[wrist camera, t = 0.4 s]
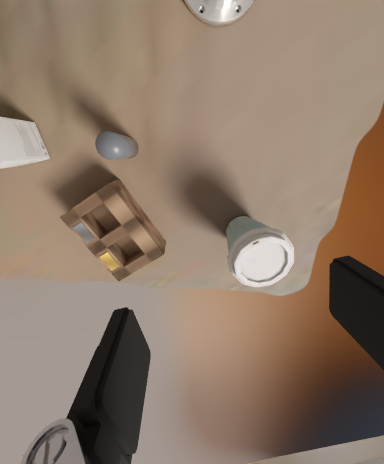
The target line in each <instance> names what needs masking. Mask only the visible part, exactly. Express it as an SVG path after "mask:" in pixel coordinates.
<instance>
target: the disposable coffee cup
mask: <svg viewBox="0 0 384 464" xmlns="http://www.w3.org/2000/svg"><path fill="white" fill-rule="evenodd" d="M226 234H227V242H228V250H229V254H228V256H227V258H228V264H229V270H230V272H231V273H232V274H233V275H234V276H235V277H236V278H237V280H238V281H239V282H240V283H241V284H245V285H249V286H252V287H256V288H257V287H262V286H267V285H272V284H274V283H275V282H277V281H278V280H280V279H281V278H283V277H284V276H286V274H287V273H288V271H289V269H290V268H291V266H292V264H293V262H294V246H293V245H292V243H291V242H290V240H289V239H288V238H287V237H286V235H285V234H284V233H283V232H282V231H279V230H276V229H273V228H270V227H268V226H266V225H264V224H262V223H260V222H258V221H256V220H254V219H252V218H249V217H246V216H241V217H236V218H234V219H233V220H232V221H231V222H230V223H229V224H228V227H227V229H226Z"/></svg>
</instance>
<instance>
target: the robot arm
mask: <svg viewBox="0 0 384 464" xmlns="http://www.w3.org/2000/svg"><path fill="white" fill-rule="evenodd" d="M253 1H254V0H184V2H185V4H186V5H187V7H188V8H189V10H190V11H191V12H192V13H193V14H194V15H195V16H196V17H197V18H198V19H200V20H201V21H203V22H205V23H207V24H210V25H215V26H222V25H227V24H230V23H233V22H235V21H236V20H238V19H239V18H241V17H242V16H243V15H244V14H245V13H246V12H247V10H248V9H249V7H250V6H251V5H252V3H253ZM200 11H202V12H203V13H200ZM236 11H238V13H237V12H236ZM329 309H330V312H331V314H332V316H333V317H334V318H335V319H336V320H337V321H338V322H339V323H340V324H341V325H342V327H343V328H344V329H345V330H346V331H347V332H348V333H349V334H350V335H351V336H352V337H353V338H354V339H355V340H356V341H357V342H358V343H359V344H360V346H361V347H362V348H363V349H364V350H365V351H366V352H367V353H368V354H369V355H370V356H371V357H372V358H373V359H374V360H375V361H376V362H377V364H378V365H379V366H380V367H381V368H382V369H383V370H384V276H382V275H381V274H379V273H377V272H376V271H374V270H372V269H371V268H369V267H367V266H366V265H364V264H362V263H360V262H359V261H357V260H356V259H354V258H352V257H350V256H344V257H340V258H335V259H334V260H333V262H332V263H331V264H330V295H329ZM149 364H150V349H149V347H148V344H147V342H146V340H145V338H144V335H143V333H142V331H141V328H140V326H139V324H138V321H137V319H136V317H135V315H134V312H133V310H129V309H128V308H127V307H126V308H122V309H117V310H114V312H113V314H112V316H111V318H110V321H109V323H108V325H107V328H106V330H105V332H104V335H103V337H102V339H101V342H100V344H99V346H98V347H97V349H96V351H95V353H94V355H93V358H92V360H91V362H90V365H89V367H88V369H87V372H86V374H85V376H84V379H83V381H82V383H81V386H80V388H79V390H78V392H77V395H76V397H75V399H74V402H73V404H72V406H71V409H70V411H69V413H68V416H67V418H65V419H59V420H57V421H55V422H53V423H51V424H50V425H48V426H47V427H46V428H44V429H43V430H42V431H41V432H40V433H39V435H37V436H36V438H35V439H34V440H33V442H32V443H31V444H30V446H29V447H28V449H27V451H26V453H25V454H24V456H23V459H22V461H21V464H131V459H132V454H134V453H135V452H136V450H137V446H138V439H139V432H140V426H141V419H142V412H143V405H144V398H145V391H146V385H147V378H148V371H149ZM246 464H384V436H379V437H374V438H369V439H364V440H359V441H354V442H349V443H345V444H339V445H334V446H329V447H325V448H320V449H315V450H310V451H305V452H300V453H295V454H290V455H285V456H281V457H275V458H271V459H266V460H261V461H256V462H251V463H246Z"/></svg>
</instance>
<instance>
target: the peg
mask: <svg viewBox="0 0 384 464" xmlns="http://www.w3.org/2000/svg"><path fill="white" fill-rule="evenodd" d="M95 144H96V149H97V151H98V153H99V154H100V155H101V156H102V157H104V158H105V159H109V160H114V159H124V158H132V157H134V156H136V154H137V153H138V144H137V142H136V141H135V140H134V139H133V138H131V137H128V136H124V135H121V134H118V133H115V132H111V131H103V132H101V133H100V134H99V135H98V136H97V138H96V142H95Z"/></svg>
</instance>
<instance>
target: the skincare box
mask: <svg viewBox="0 0 384 464" xmlns="http://www.w3.org/2000/svg"><path fill="white" fill-rule="evenodd" d="M48 159H50V157H49V155H48V152H47V150H46V148H45V145H44V143H43V141H42V138H41V136H40V134H39V131H38V129H37V127H36V124H35V123H34V122H30V121H24V120H18V119H12V118H6V117H0V168H9V167H16V166H21V165H26V164H31V163H35V162H40V161H44V160H48Z"/></svg>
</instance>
